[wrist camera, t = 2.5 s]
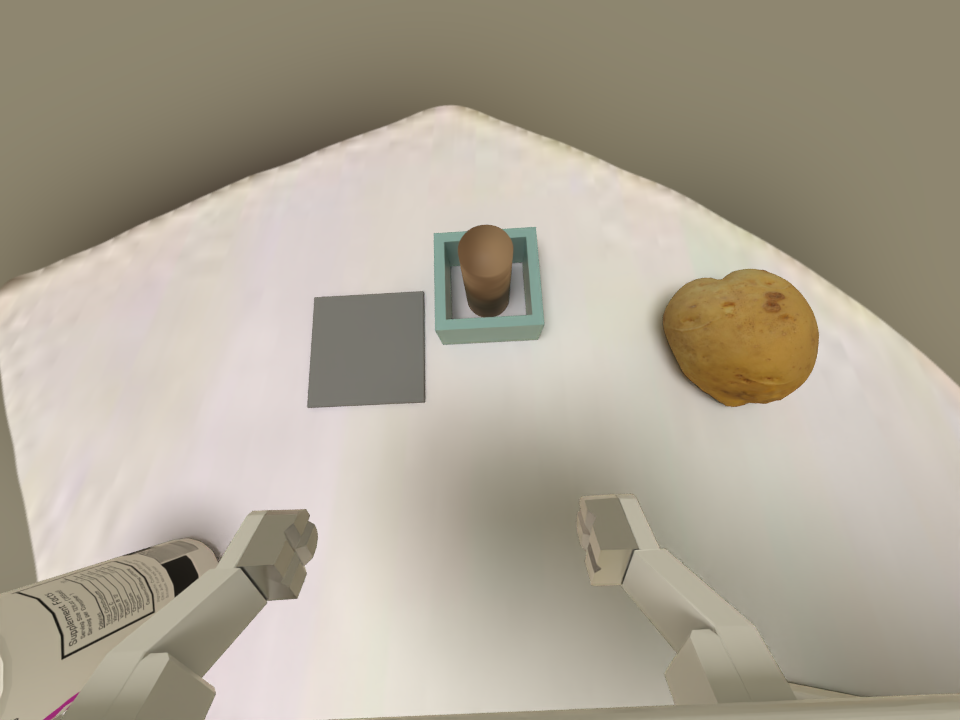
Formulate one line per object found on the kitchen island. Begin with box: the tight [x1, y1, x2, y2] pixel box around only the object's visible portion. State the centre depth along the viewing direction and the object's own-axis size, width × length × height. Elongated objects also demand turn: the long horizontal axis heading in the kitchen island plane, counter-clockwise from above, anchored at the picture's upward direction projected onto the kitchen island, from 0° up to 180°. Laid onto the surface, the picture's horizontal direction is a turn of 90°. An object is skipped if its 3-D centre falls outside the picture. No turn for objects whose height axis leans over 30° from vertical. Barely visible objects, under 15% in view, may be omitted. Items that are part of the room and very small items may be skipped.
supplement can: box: [0, 538, 218, 720], centre depth 26 cm, size 8×8×15 cm
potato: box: [663, 269, 819, 407], centre depth 31 cm, size 10×12×10 cm
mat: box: [307, 291, 425, 408], centre depth 37 cm, size 12×12×1 cm
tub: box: [434, 227, 544, 345], centre depth 36 cm, size 10×10×5 cm
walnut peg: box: [458, 225, 513, 317], centre depth 33 cm, size 4×4×10 cm
